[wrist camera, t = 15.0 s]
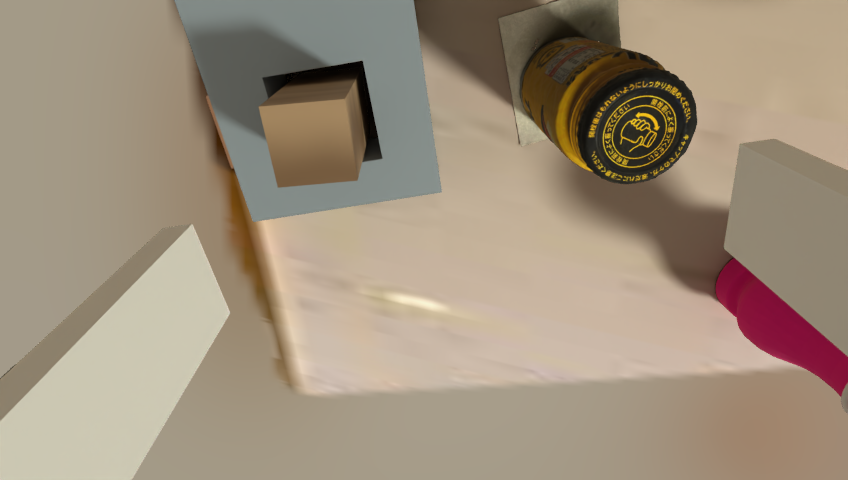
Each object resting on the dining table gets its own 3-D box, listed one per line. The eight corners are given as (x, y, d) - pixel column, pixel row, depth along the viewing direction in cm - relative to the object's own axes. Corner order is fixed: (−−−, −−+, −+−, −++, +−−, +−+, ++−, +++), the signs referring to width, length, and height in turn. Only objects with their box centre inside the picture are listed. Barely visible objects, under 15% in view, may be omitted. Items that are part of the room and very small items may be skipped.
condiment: (520, 146, 34) (573, 217, 23) (497, 18, 30) (548, 34, 19) (624, 118, 33) (728, 178, 22) (614, -17, 29) (734, -20, 19)
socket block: (132, -203, 24) (71, -246, 20) (375, -251, 24) (368, -306, 19) (264, 193, 35) (243, 223, 30) (437, 165, 34) (441, 192, 30)
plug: (300, 73, 31) (258, 106, 22) (362, 67, 31) (345, 98, 22) (312, 134, 33) (277, 187, 24) (370, 128, 33) (357, 180, 24)
